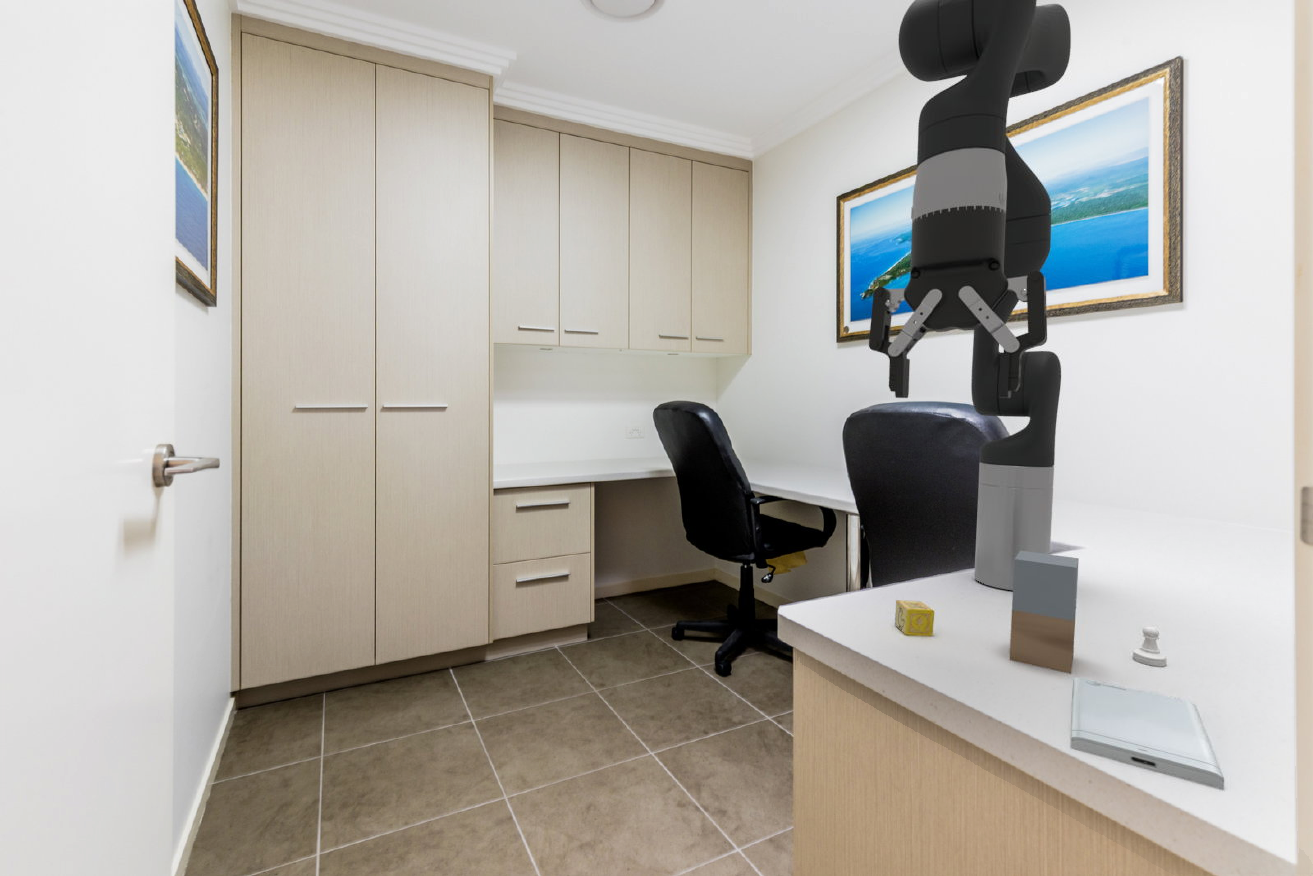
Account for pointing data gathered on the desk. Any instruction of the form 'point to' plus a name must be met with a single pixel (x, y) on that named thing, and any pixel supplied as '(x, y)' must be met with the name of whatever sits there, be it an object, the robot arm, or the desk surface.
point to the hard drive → (1143, 731)
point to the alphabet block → (914, 618)
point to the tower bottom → (1042, 641)
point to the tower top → (1045, 584)
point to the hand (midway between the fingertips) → (950, 397)
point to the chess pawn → (1149, 649)
